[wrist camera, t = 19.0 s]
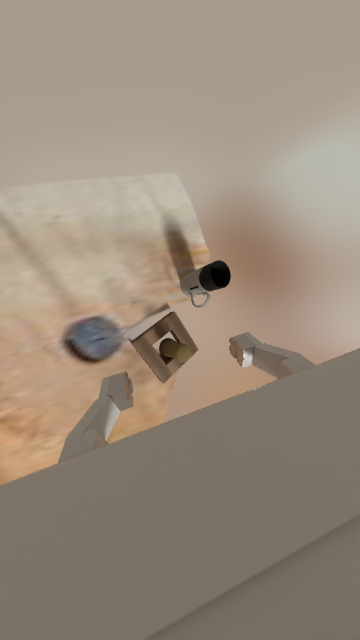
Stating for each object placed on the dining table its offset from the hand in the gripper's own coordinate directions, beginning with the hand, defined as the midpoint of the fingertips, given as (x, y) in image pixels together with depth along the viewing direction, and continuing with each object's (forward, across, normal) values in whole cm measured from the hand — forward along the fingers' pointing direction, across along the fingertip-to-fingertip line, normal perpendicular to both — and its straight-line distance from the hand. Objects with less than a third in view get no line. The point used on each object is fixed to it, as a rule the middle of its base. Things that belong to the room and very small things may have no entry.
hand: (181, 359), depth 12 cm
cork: (+32, 0, -25) cm, 40 cm away
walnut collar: (+31, -1, -24) cm, 39 cm away
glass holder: (+42, +12, -12) cm, 45 cm away
